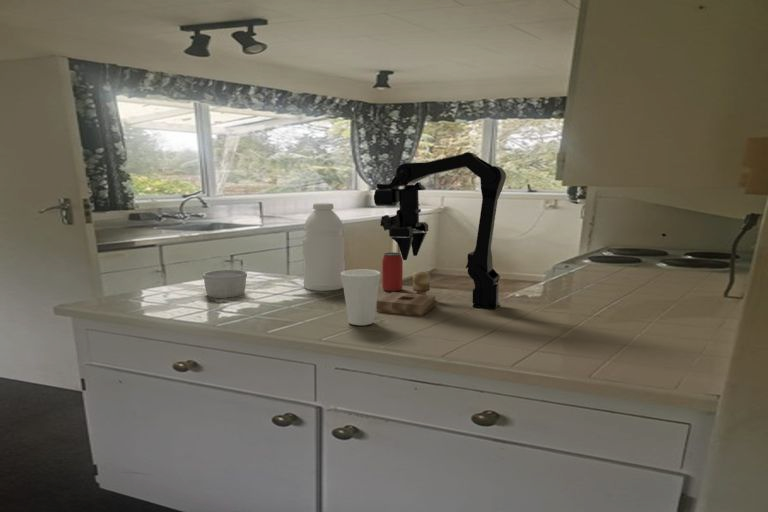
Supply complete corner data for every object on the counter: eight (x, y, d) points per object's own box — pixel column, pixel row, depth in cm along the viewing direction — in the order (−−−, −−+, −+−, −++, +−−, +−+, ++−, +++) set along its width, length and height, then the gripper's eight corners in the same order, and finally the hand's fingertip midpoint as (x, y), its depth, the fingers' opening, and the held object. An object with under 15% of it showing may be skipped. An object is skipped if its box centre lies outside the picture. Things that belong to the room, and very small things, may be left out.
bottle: (304, 283, 184) (302, 202, 180) (344, 282, 185) (343, 202, 181) (302, 292, 170) (300, 204, 166) (345, 291, 172) (345, 204, 168)
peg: (431, 298, 162) (432, 272, 161) (426, 301, 157) (426, 275, 156) (415, 296, 164) (416, 271, 163) (410, 300, 159) (410, 273, 158)
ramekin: (256, 293, 169) (255, 271, 167) (223, 301, 158) (222, 278, 156) (228, 288, 176) (227, 268, 175) (194, 296, 165) (193, 274, 164)
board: (434, 306, 152) (435, 295, 151) (421, 316, 141) (421, 305, 140) (392, 302, 156) (392, 292, 156) (376, 311, 146) (376, 300, 145)
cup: (343, 318, 139) (342, 269, 137) (381, 318, 138) (381, 269, 137) (339, 328, 129) (338, 276, 127) (380, 329, 129) (380, 276, 127)
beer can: (402, 292, 170) (402, 255, 168) (382, 291, 170) (382, 255, 169) (402, 287, 177) (402, 252, 175) (382, 287, 177) (382, 252, 175)
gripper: (395, 204, 169) (396, 253, 171) (371, 207, 152) (373, 261, 154) (428, 204, 165) (429, 254, 167) (408, 207, 148) (409, 262, 150)
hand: (410, 257), depth 159 cm, fingers open, 9 cm apart
